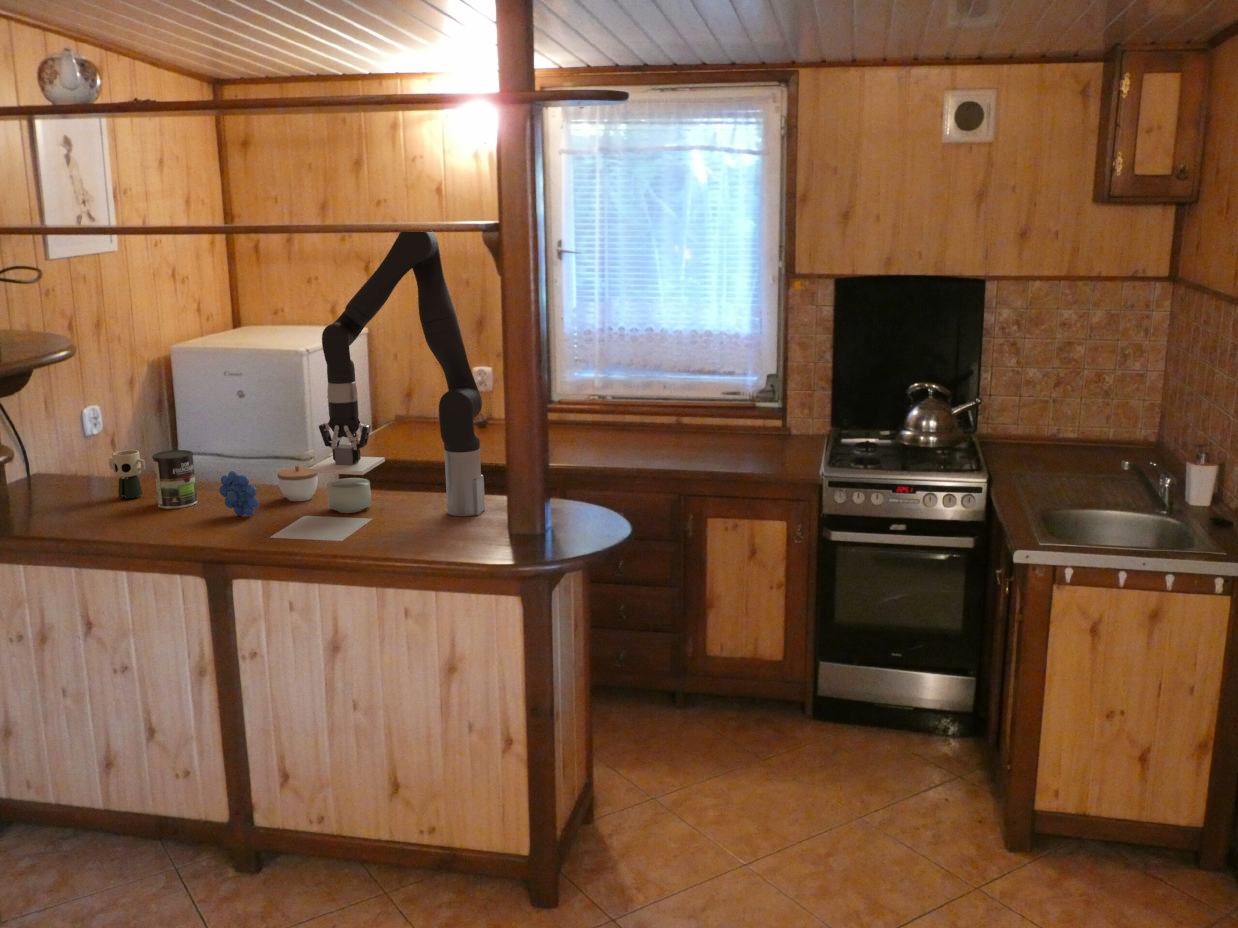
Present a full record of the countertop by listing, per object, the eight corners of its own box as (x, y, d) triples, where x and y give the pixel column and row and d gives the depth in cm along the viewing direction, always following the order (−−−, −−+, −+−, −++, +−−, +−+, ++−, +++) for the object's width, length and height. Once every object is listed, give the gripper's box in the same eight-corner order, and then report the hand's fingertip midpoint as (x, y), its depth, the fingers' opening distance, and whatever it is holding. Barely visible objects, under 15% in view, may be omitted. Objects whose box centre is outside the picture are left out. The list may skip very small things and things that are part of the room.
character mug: (105, 500, 311) (99, 454, 308) (121, 493, 318) (115, 449, 315) (140, 501, 309) (135, 456, 306) (155, 494, 316) (150, 450, 313)
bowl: (377, 505, 303) (376, 478, 301) (361, 517, 292) (359, 488, 291) (339, 503, 305) (337, 476, 303) (322, 515, 294) (320, 487, 293)
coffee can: (206, 502, 308) (200, 452, 305) (174, 511, 300) (168, 460, 297) (181, 497, 314) (176, 448, 310) (149, 505, 305) (143, 455, 302)
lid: (385, 461, 302) (383, 441, 300) (362, 474, 287) (361, 454, 286) (333, 458, 304) (331, 439, 303) (308, 472, 290) (306, 451, 289)
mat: (372, 519, 290) (372, 518, 290) (341, 542, 272) (341, 540, 272) (304, 516, 293) (304, 515, 293) (269, 538, 275) (269, 537, 275)
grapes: (211, 518, 293) (207, 473, 290) (228, 511, 299) (224, 467, 296) (248, 522, 289) (244, 477, 286) (264, 515, 295) (260, 471, 292)
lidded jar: (325, 493, 315) (322, 461, 313) (311, 504, 305) (308, 470, 303) (288, 493, 316) (285, 461, 314) (273, 503, 306) (270, 470, 304)
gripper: (374, 397, 294) (378, 460, 298) (323, 395, 296) (327, 458, 300) (362, 402, 287) (366, 467, 291) (310, 400, 289) (315, 464, 293)
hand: (346, 462), depth 296 cm, fingers closed on lid, 4 cm apart
